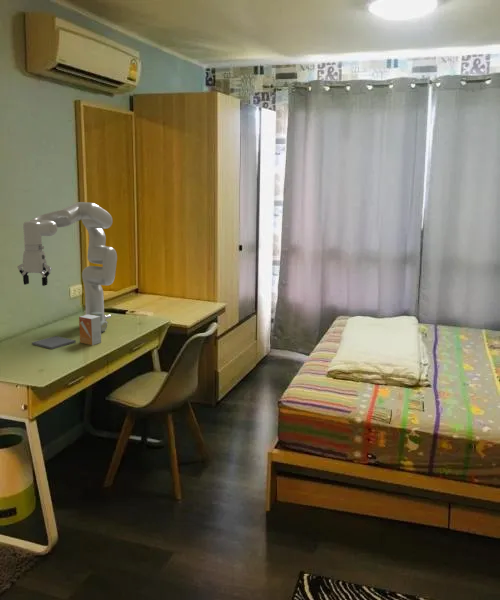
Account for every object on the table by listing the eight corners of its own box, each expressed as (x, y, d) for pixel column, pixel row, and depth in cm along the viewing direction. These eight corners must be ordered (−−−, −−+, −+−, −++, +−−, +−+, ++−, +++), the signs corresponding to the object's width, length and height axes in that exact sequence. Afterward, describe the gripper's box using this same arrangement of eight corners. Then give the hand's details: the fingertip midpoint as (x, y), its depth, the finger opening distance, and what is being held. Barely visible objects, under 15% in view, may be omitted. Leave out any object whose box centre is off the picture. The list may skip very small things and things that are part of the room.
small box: (79, 343, 284) (78, 316, 282) (89, 340, 290) (88, 314, 287) (92, 345, 281) (91, 318, 278) (101, 342, 286) (100, 316, 283)
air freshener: (99, 335, 299) (99, 315, 297) (84, 333, 301) (83, 314, 299) (109, 329, 310) (108, 311, 308) (94, 328, 311) (93, 310, 309)
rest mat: (56, 337, 293) (56, 335, 292) (75, 342, 285) (75, 340, 285) (32, 344, 281) (32, 342, 281) (51, 349, 274) (51, 347, 273)
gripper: (54, 248, 276) (56, 284, 279) (21, 246, 280) (24, 282, 283) (45, 249, 268) (47, 287, 272) (11, 248, 273) (14, 285, 276)
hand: (35, 284), depth 278 cm, fingers open, 9 cm apart
